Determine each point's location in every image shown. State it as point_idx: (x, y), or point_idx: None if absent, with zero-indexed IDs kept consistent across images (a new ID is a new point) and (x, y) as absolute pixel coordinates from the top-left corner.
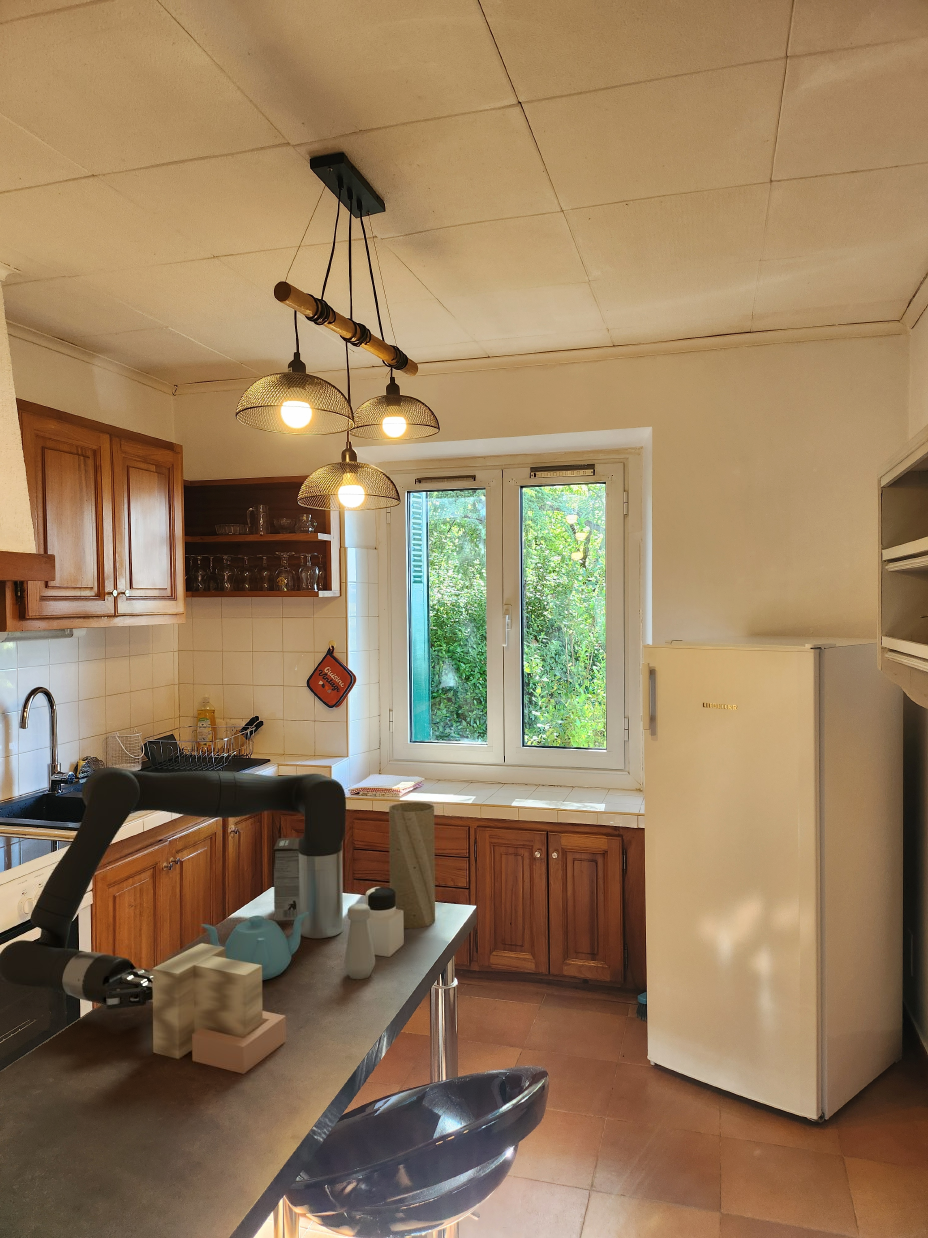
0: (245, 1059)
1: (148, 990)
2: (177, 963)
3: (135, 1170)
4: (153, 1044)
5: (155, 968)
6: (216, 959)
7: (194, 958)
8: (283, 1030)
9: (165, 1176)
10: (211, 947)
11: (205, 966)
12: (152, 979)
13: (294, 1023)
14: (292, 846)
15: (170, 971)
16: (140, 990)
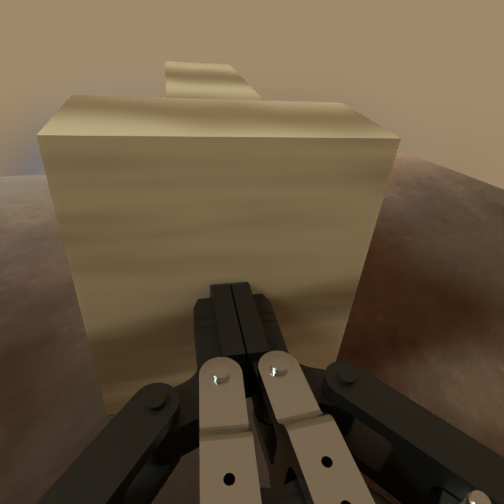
0: None
1: (310, 377)
2: (295, 117)
3: (463, 208)
4: None
5: (389, 133)
6: (187, 87)
7: (220, 108)
8: None
9: (434, 191)
10: (86, 108)
11: (249, 88)
12: (236, 429)
13: (54, 248)
14: None
15: (352, 111)
16: (361, 371)
